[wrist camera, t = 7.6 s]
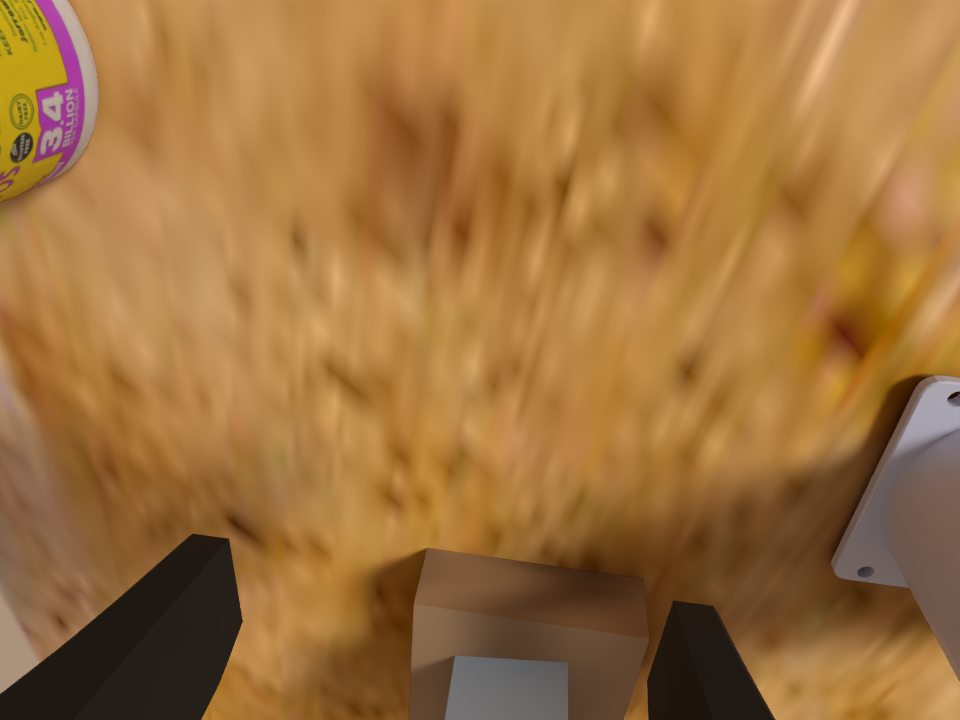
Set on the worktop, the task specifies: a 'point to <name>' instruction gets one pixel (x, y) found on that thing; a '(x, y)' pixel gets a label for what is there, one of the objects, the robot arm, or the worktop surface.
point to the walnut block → (527, 628)
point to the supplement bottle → (43, 93)
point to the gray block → (507, 689)
